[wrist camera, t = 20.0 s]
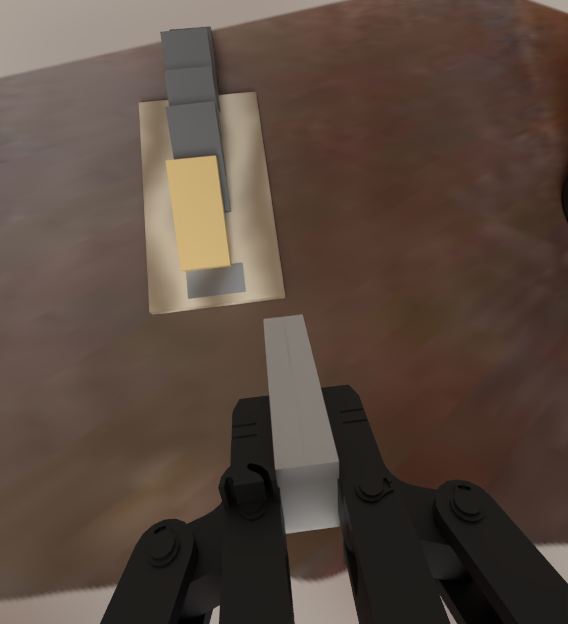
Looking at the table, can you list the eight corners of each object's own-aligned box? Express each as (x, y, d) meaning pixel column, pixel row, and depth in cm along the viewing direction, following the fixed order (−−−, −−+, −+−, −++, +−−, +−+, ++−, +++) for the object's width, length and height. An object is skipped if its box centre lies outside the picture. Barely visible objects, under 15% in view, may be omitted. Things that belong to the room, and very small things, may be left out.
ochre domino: (231, 266, 40) (217, 161, 39) (230, 264, 38) (215, 155, 38) (183, 271, 40) (169, 166, 39) (180, 270, 38) (165, 160, 37)
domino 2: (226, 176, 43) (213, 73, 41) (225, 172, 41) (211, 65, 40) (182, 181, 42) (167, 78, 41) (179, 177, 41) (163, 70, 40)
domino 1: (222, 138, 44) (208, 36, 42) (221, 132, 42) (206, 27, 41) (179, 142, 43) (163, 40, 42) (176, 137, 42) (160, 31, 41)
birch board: (256, 98, 47) (255, 90, 46) (284, 298, 40) (285, 295, 39) (141, 109, 46) (138, 101, 45) (152, 314, 40) (149, 312, 38)
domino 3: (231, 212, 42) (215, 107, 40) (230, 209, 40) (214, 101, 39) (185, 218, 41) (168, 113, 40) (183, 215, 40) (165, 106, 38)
